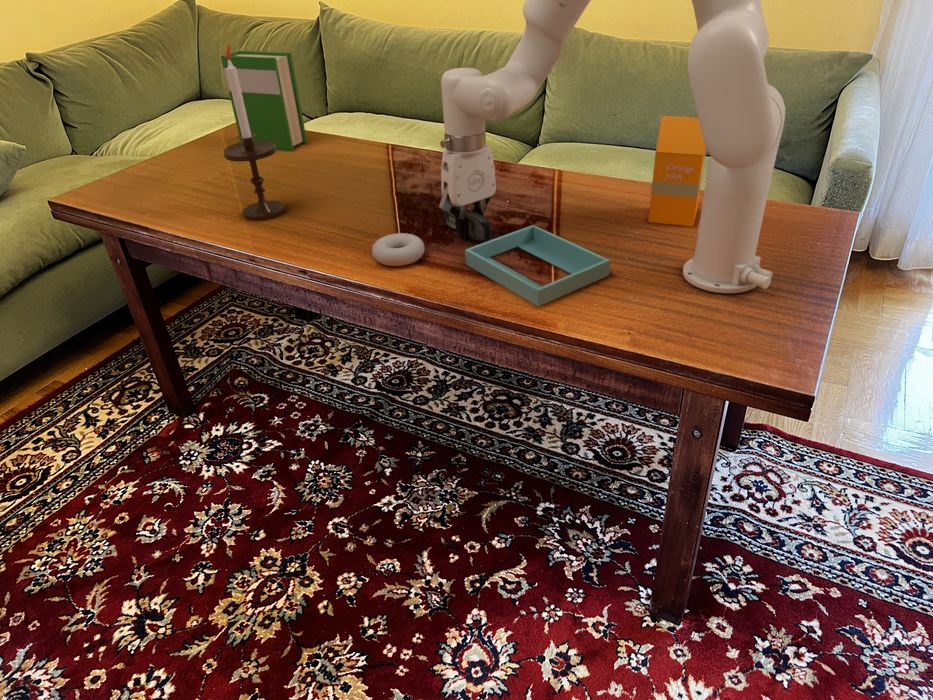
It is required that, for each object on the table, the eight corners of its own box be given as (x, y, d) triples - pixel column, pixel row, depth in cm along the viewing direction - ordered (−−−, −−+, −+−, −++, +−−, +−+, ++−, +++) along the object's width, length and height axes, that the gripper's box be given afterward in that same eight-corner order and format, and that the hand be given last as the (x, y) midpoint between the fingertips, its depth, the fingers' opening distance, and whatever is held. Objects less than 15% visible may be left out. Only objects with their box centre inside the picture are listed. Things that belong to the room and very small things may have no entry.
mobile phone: (440, 203, 137) (487, 223, 127) (451, 199, 139) (499, 219, 128) (442, 226, 140) (488, 248, 130) (453, 222, 141) (500, 243, 131)
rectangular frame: (609, 275, 119) (610, 260, 117) (538, 306, 111) (538, 290, 110) (533, 238, 133) (533, 224, 131) (465, 264, 125) (464, 249, 124)
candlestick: (298, 206, 153) (265, 38, 134) (268, 224, 145) (227, 49, 126) (260, 200, 157) (222, 37, 138) (229, 218, 149) (184, 47, 130)
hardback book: (307, 142, 193) (290, 52, 180) (291, 150, 188) (273, 58, 174) (258, 137, 200) (238, 50, 186) (241, 145, 194) (220, 56, 181)
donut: (369, 251, 132) (378, 273, 124) (366, 235, 130) (375, 256, 122) (419, 243, 134) (431, 263, 126) (417, 227, 132) (429, 246, 124)
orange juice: (653, 207, 142) (664, 110, 131) (697, 211, 140) (712, 112, 128) (647, 222, 137) (658, 121, 125) (693, 226, 134) (708, 124, 122)
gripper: (440, 155, 119) (447, 250, 129) (512, 135, 126) (513, 226, 137) (417, 146, 124) (425, 238, 134) (488, 127, 131) (491, 216, 142)
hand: (470, 231), depth 135 cm, fingers closed on mobile phone, 3 cm apart
